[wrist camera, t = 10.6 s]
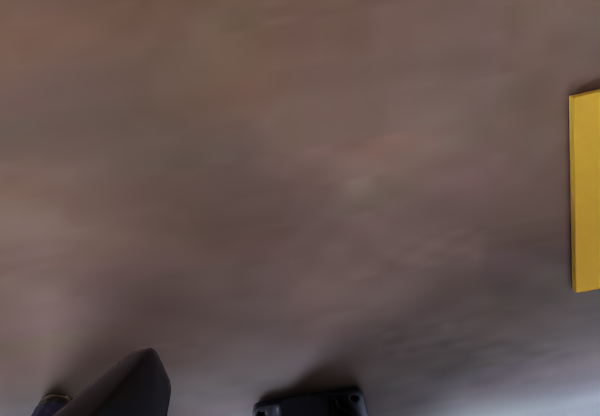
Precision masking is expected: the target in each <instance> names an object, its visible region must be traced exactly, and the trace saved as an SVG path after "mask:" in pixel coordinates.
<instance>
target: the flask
mask: <svg viewBox="0 0 600 416" xmlns="http://www.w3.org/2000/svg"><path fill="white" fill-rule="evenodd" d="M70 401H71V400H70V399H69V398H68V396H60V395H54V394H52V395H49V396H45V397H44V398H43V399H42V400H41V401H40V403H39V405H38V406H37V407H36V409H35V411H34V412H33V414H32V416H53V415H54V414H55V413H56V412H58V411H59V410H60V409H61V408H63V407H64V406H65V405H66V404H68V403H69V402H70Z"/></svg>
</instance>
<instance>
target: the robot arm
mask: <svg viewBox="0 0 600 416" xmlns="http://www.w3.org/2000/svg"><path fill="white" fill-rule="evenodd" d="M170 394H171V385H170V380H169V378H168V376H167V373H166V371H165V369H164V367H163V364H162V362H161V360H160V358H159V356H158V354H157V352H156V351H155V350H154V349H152V348H148V349H142V350H137V351H133V352H131V353H129V354H128V355H127V356H126V357H124V358H123V359H122V360H121V361H119V362H118V363H117V364H116V365H115V366H113V367H112V368H111V369H110V370H108V371H107V372H106V373H105V374H103V375H102V376H101V377H100V378H98V379H97V380H96V381H95V382H94V383H92V384H91V385H90V386H89V387H87V388H86V389H85V390H84V391H82V392H81V393H80V394H79V395H77V396H76V397H75V398H74V399H73V400H71V401H70V402H69V403H68V404H66V405H65V406H64V407H63V408H61V409H60V410H59V411H58V412H56V413H55V414H54V415H53V416H167V412H168V406H169V400H170ZM352 395H357V396H352ZM261 411H264V412H261ZM253 416H368V413H367V408H366V404H365V400H364V396H363V392H362V390H361V389H360V388H359V387H356V386H355V387H346V388H341V389H335V390H329V391H323V392H317V393H311V394H305V395H299V396H293V397H287V398H282V399H276V400H270V401H264V402H259V403H256V404H255V405H254V408H253Z"/></svg>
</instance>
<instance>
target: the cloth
mask: <svg viewBox="0 0 600 416" xmlns="http://www.w3.org/2000/svg"><path fill="white" fill-rule="evenodd" d="M569 123H570V186H571V249H572V289H573V290H574V291H575V292H576V293H577V292H583V291H588V290H594V289H599V288H600V89H597V90H593V91H589V92H584V93H580V94H576V95H571V96H569Z"/></svg>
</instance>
